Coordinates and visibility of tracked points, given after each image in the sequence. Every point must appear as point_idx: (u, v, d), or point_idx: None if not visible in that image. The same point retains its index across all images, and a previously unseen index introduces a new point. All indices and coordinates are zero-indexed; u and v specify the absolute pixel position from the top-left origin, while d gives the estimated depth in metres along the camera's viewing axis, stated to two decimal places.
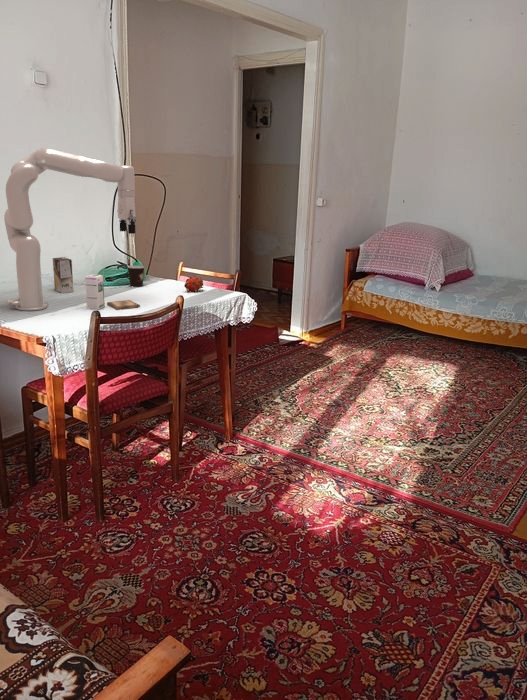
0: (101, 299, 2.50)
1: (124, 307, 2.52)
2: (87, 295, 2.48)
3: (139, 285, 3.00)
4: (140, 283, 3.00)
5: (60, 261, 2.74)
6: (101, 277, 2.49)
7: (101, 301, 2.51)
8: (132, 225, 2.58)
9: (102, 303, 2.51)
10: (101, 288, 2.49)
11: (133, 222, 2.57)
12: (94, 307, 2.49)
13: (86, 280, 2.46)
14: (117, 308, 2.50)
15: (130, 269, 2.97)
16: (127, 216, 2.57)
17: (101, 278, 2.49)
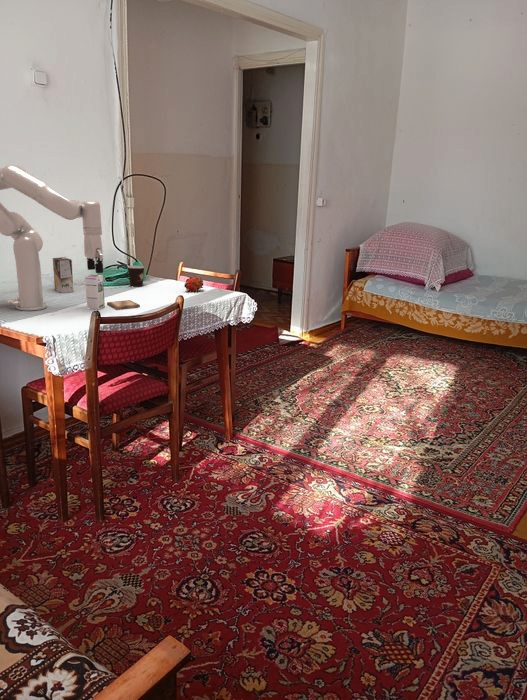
0: (101, 299, 2.50)
1: (124, 307, 2.52)
2: (87, 295, 2.48)
3: (139, 285, 3.00)
4: (140, 283, 3.00)
5: (61, 261, 2.74)
6: (101, 277, 2.49)
7: (101, 301, 2.51)
8: (99, 264, 2.42)
9: (102, 303, 2.51)
10: (101, 288, 2.49)
11: (100, 261, 2.41)
12: (94, 307, 2.49)
13: (86, 280, 2.46)
14: (117, 308, 2.50)
15: (130, 269, 2.97)
16: (93, 255, 2.40)
17: (101, 278, 2.49)
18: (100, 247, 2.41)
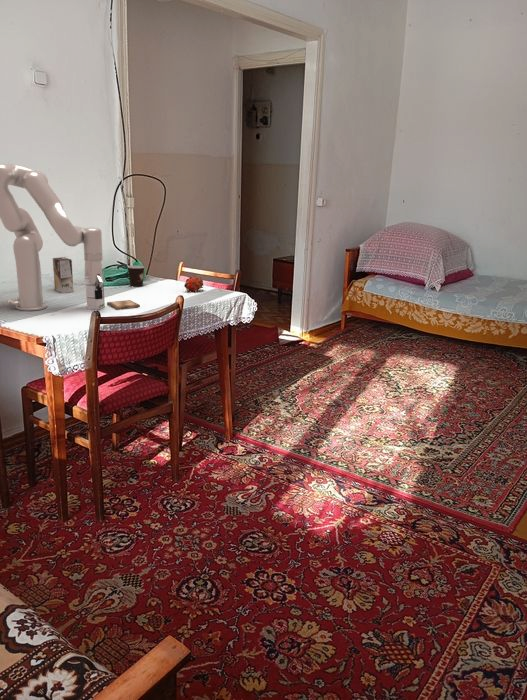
0: (101, 299, 2.50)
1: (124, 307, 2.52)
2: (87, 295, 2.48)
3: (139, 285, 3.00)
4: (140, 283, 3.00)
5: (61, 261, 2.74)
6: None
7: (101, 301, 2.51)
8: (99, 291, 2.46)
9: (102, 303, 2.51)
10: None
11: (100, 288, 2.44)
12: (94, 307, 2.49)
13: (86, 280, 2.46)
14: (117, 308, 2.50)
15: (130, 269, 2.97)
16: (94, 281, 2.43)
17: None
18: (100, 273, 2.44)
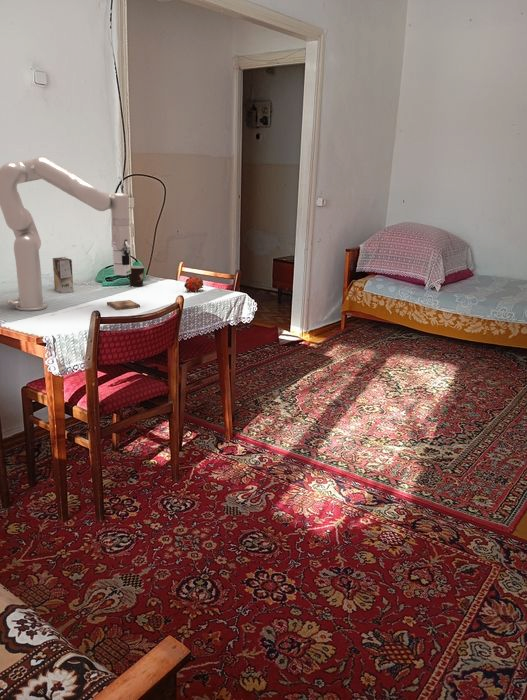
0: (128, 265, 2.51)
1: (124, 307, 2.52)
2: (114, 261, 2.49)
3: (139, 285, 3.00)
4: (140, 283, 3.00)
5: (61, 261, 2.74)
6: None
7: (128, 267, 2.52)
8: (126, 256, 2.47)
9: (129, 270, 2.52)
10: None
11: (127, 253, 2.45)
12: (121, 273, 2.50)
13: (113, 246, 2.47)
14: (117, 308, 2.50)
15: None
16: (121, 246, 2.44)
17: None
18: (128, 238, 2.45)
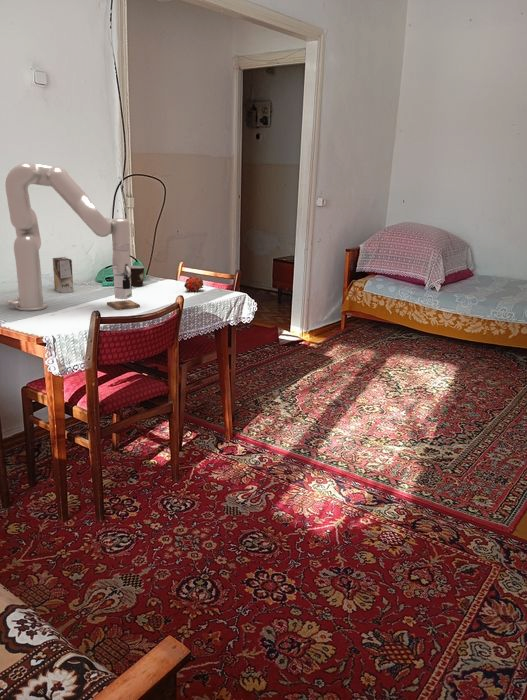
0: (129, 289, 2.55)
1: (124, 307, 2.52)
2: (115, 285, 2.52)
3: (139, 285, 3.00)
4: (140, 283, 3.00)
5: (60, 261, 2.74)
6: None
7: (129, 290, 2.55)
8: (127, 281, 2.50)
9: (129, 293, 2.56)
10: None
11: (128, 278, 2.49)
12: (122, 297, 2.53)
13: (114, 270, 2.50)
14: (117, 308, 2.50)
15: None
16: (122, 271, 2.48)
17: None
18: (128, 263, 2.48)
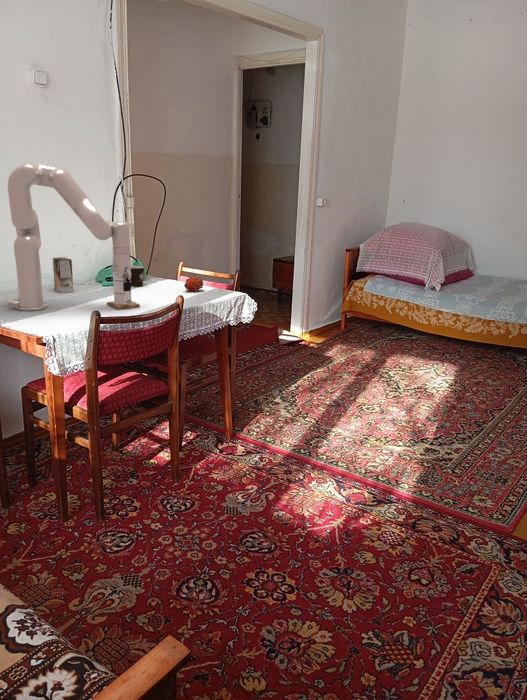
0: (128, 295, 2.55)
1: (124, 307, 2.52)
2: (115, 291, 2.53)
3: (139, 285, 3.00)
4: (140, 283, 3.00)
5: (60, 261, 2.74)
6: None
7: (128, 296, 2.56)
8: (127, 283, 2.50)
9: (129, 299, 2.56)
10: None
11: (128, 280, 2.48)
12: (121, 302, 2.54)
13: (114, 276, 2.51)
14: (117, 308, 2.50)
15: None
16: (122, 274, 2.48)
17: None
18: (128, 266, 2.49)
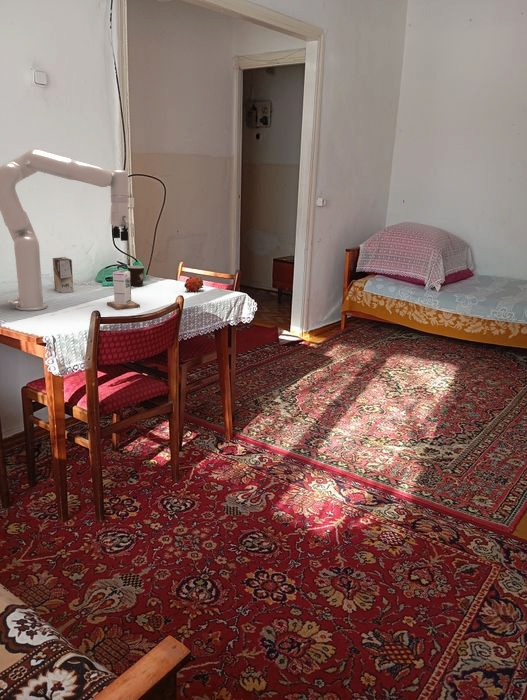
0: (128, 295, 2.55)
1: (124, 307, 2.52)
2: (115, 291, 2.53)
3: (139, 285, 3.00)
4: (140, 283, 3.00)
5: (61, 261, 2.74)
6: (128, 273, 2.54)
7: (128, 296, 2.56)
8: (125, 232, 2.48)
9: (129, 299, 2.56)
10: (128, 284, 2.54)
11: (126, 229, 2.46)
12: (121, 302, 2.54)
13: (114, 276, 2.51)
14: (117, 308, 2.50)
15: (130, 269, 2.97)
16: (119, 223, 2.46)
17: (128, 274, 2.54)
18: (126, 215, 2.47)
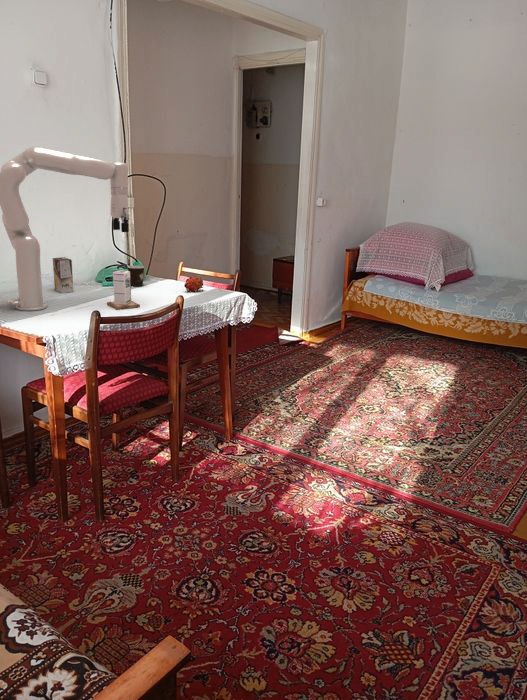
0: (128, 295, 2.55)
1: (124, 307, 2.52)
2: (115, 291, 2.53)
3: (139, 285, 3.00)
4: (140, 283, 3.00)
5: (60, 261, 2.74)
6: (128, 273, 2.54)
7: (128, 296, 2.56)
8: (125, 223, 2.52)
9: (129, 299, 2.56)
10: (128, 284, 2.54)
11: (126, 220, 2.51)
12: (121, 302, 2.54)
13: (114, 276, 2.51)
14: (117, 308, 2.50)
15: (130, 269, 2.97)
16: (120, 214, 2.51)
17: (128, 274, 2.54)
18: (126, 207, 2.52)
